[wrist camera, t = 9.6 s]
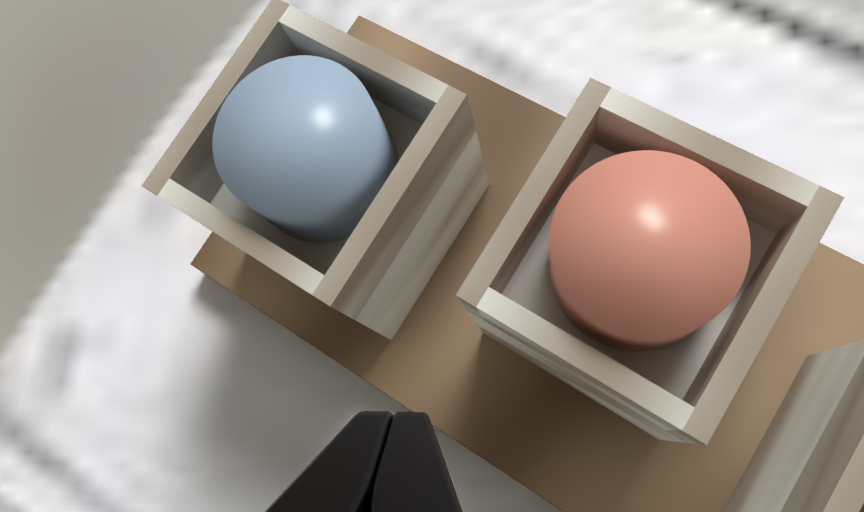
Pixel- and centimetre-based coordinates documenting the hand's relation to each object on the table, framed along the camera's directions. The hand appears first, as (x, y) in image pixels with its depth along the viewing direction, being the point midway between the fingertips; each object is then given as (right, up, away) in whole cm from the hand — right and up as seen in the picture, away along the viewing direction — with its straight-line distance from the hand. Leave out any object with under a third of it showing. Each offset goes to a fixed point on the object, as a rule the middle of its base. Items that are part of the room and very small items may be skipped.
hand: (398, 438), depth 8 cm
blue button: (-2, +4, +9) cm, 11 cm away
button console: (+5, 0, +12) cm, 13 cm away
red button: (+5, +2, +7) cm, 9 cm away
